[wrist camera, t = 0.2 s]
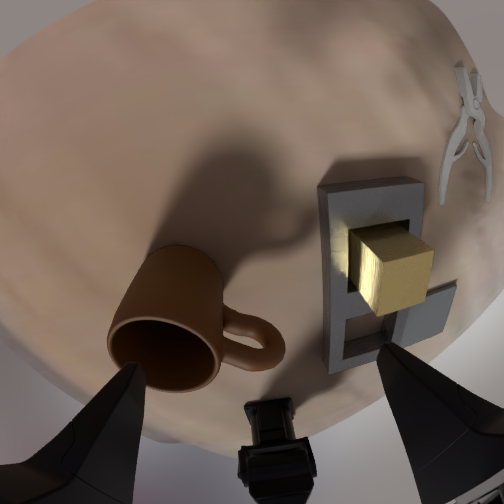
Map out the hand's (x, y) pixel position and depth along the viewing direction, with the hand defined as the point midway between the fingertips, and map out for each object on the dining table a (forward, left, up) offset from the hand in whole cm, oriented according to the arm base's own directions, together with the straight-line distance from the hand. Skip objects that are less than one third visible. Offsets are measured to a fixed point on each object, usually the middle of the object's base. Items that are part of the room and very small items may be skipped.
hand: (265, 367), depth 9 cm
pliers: (+6, -25, -15) cm, 29 cm away
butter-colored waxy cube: (-4, -11, -14) cm, 18 cm away
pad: (-16, -21, -14) cm, 30 cm away
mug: (-5, +4, -14) cm, 16 cm away
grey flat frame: (-8, -11, -14) cm, 19 cm away
